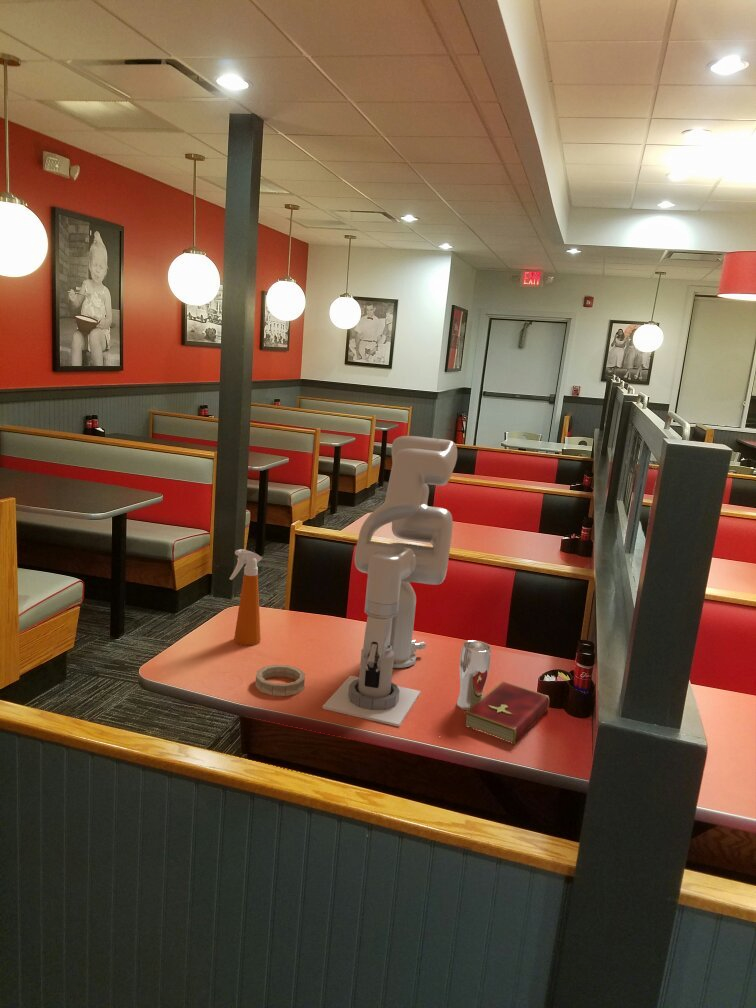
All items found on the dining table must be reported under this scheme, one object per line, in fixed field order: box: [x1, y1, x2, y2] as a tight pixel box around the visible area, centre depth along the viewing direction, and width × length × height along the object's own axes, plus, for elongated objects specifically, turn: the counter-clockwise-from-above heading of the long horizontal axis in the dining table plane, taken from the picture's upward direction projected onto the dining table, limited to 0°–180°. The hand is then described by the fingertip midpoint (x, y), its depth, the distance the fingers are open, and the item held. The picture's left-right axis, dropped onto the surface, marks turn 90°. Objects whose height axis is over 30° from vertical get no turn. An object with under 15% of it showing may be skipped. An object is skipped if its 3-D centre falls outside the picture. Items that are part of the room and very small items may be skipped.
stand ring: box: [255, 664, 306, 697], centre depth 172 cm, size 11×11×2 cm
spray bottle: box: [229, 548, 263, 646], centre depth 193 cm, size 7×11×26 cm, turn 143°
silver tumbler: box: [456, 639, 492, 711], centre depth 169 cm, size 7×7×15 cm
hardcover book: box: [464, 680, 550, 745], centre depth 165 cm, size 12×21×4 cm, turn 147°
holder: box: [322, 675, 422, 728], centre depth 168 cm, size 18×18×3 cm
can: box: [358, 644, 394, 697], centre depth 167 cm, size 8×8×12 cm
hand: (375, 678), depth 167 cm, fingers closed on can, 7 cm apart
